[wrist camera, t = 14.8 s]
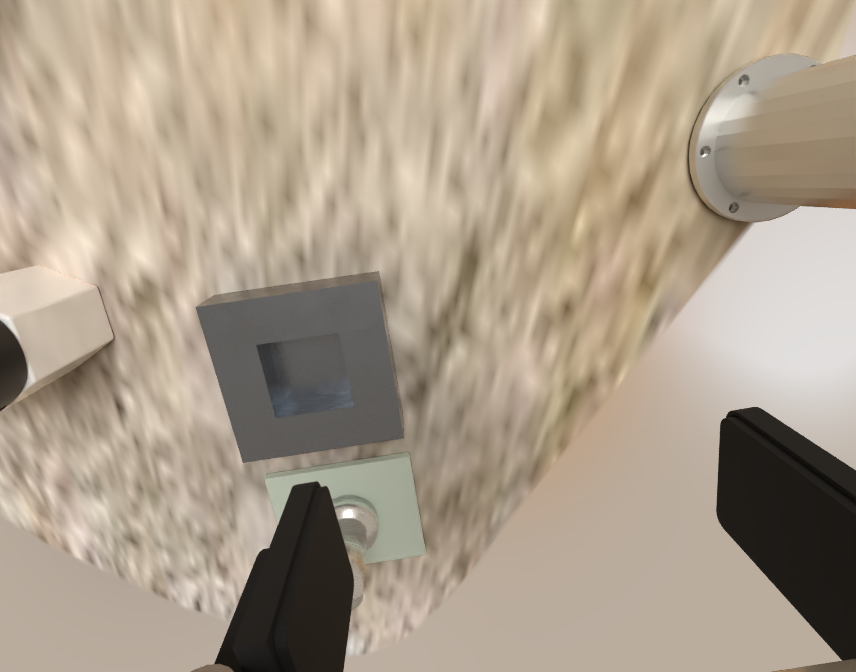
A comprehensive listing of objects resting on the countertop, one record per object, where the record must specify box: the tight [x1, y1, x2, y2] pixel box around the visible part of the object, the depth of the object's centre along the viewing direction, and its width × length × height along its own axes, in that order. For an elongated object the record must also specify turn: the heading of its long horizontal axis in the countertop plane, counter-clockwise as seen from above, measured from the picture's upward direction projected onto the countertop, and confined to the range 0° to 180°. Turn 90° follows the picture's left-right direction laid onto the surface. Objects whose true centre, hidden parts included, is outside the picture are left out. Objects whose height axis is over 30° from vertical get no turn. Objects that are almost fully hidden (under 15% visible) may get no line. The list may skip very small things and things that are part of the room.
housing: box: [196, 271, 404, 463], centre depth 40 cm, size 14×14×4 cm
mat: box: [264, 452, 426, 564], centre depth 47 cm, size 14×12×1 cm
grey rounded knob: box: [332, 495, 378, 610], centre depth 42 cm, size 6×6×9 cm
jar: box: [0, 265, 114, 412], centre depth 33 cm, size 9×8×12 cm
